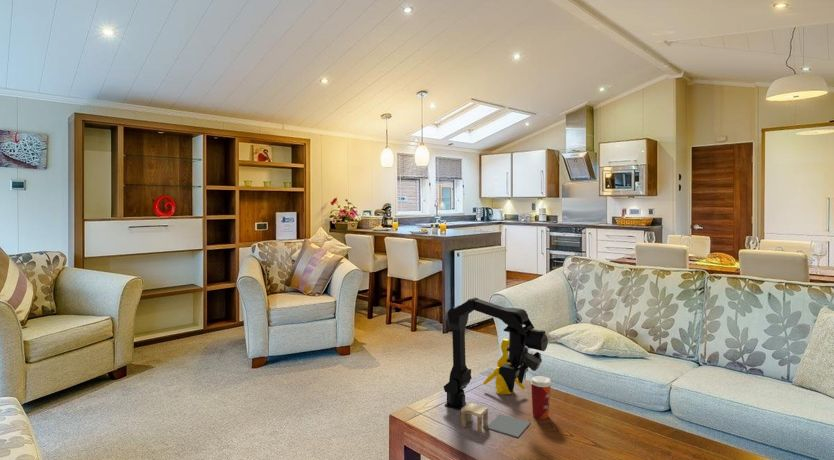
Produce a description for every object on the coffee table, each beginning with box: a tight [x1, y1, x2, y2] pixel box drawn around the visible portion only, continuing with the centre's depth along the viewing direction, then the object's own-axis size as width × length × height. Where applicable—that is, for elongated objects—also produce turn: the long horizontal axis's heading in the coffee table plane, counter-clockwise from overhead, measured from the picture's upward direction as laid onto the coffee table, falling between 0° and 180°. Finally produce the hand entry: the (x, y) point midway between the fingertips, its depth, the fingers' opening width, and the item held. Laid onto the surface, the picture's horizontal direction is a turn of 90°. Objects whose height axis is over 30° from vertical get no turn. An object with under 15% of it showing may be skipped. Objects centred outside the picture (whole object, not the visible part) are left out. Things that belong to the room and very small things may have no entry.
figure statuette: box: [482, 338, 526, 395], centre depth 192 cm, size 18×8×22 cm, turn 70°
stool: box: [460, 402, 489, 433], centre depth 164 cm, size 8×6×7 cm
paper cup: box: [530, 375, 552, 420], centre depth 171 cm, size 8×8×14 cm
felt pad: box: [485, 413, 531, 439], centre depth 164 cm, size 12×12×1 cm
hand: (516, 387), depth 164 cm, fingers open, 9 cm apart
